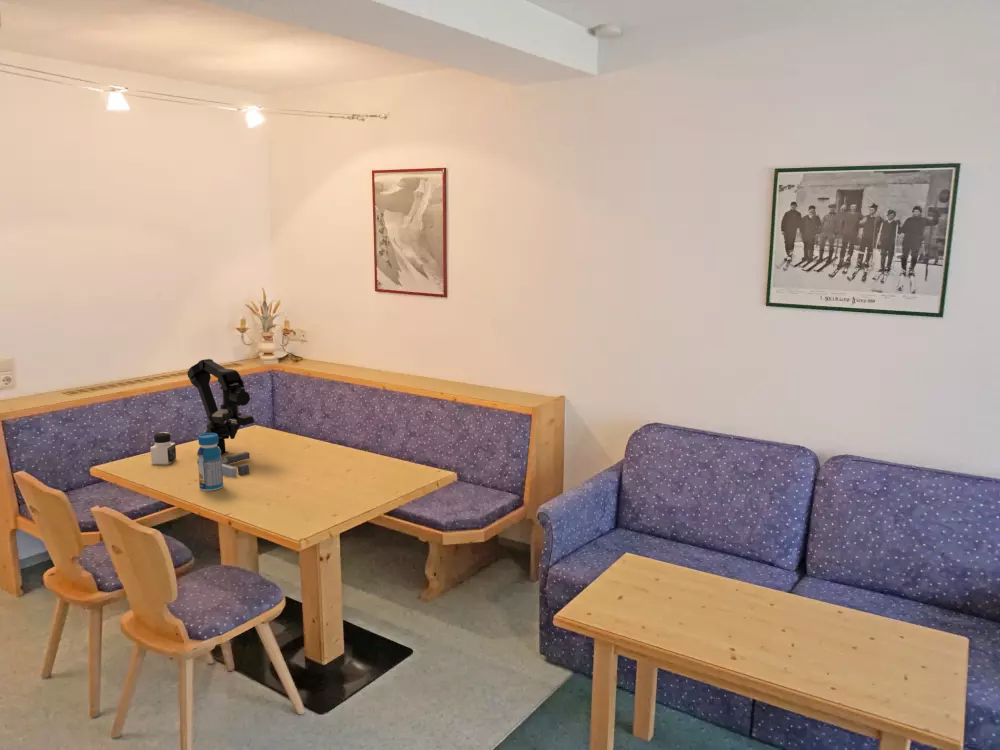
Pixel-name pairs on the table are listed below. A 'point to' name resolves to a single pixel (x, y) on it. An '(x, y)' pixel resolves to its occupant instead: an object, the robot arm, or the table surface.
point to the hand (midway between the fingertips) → (232, 438)
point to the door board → (228, 471)
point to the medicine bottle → (163, 449)
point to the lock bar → (235, 458)
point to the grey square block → (243, 469)
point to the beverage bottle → (209, 462)
